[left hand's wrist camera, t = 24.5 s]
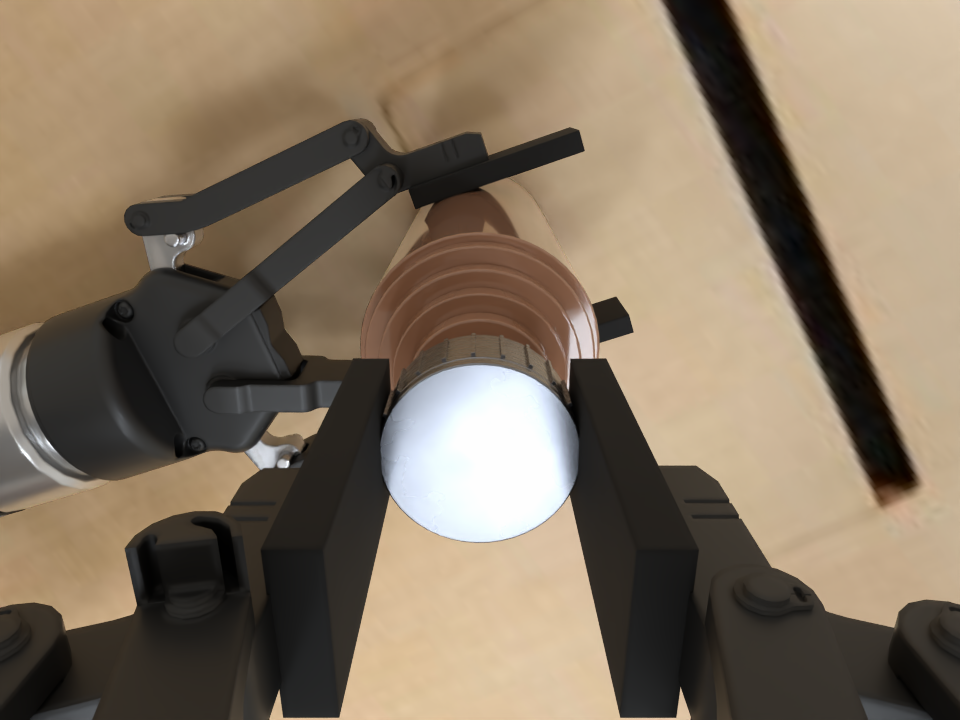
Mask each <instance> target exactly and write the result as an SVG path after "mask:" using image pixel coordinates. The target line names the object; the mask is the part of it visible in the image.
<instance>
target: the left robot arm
mask: <svg viewBox="0 0 960 720" xmlns="http://www.w3.org/2000/svg"><path fill="white" fill-rule="evenodd" d="M390 390H391V383H390V363H389V359H353V360H352V362H351V364H350V367H349V369H348V371H347V373H346V375H345V377H344V379H343V381H342V383H341V385H340V387H339V389H338V391H337V393H336V395H335V397H334V399H333V401H332V404H331V406H330V408H329V410H328V412H327V414H326V416H325V418H324V420H323V422H322V424H321V426H320V428H319V430H318V432H317V434H316V436H315V438H314V441H313V443H312V445H311V447H310V449H309V451H308V453H307V455H306V457H305V459H304V461H303V463H302V465H301V467H300V468H263V469H261V470H260V471H259V472H257V473H256V474H255V475H253V476H252V477H250V478H249V479H248V480H246V481H245V482H243V483H242V484H241V486H240V488H239V489H238V491H237V492H236V494H235V496H234V497H233V499H232V500H231V505H230V506H228V507H227V509H226V510H225V512H224V513H219V512H216V511H194V512H189V513H184V514H179V515H174V516H171V517H168V518H166V519H163V520H161V521H158V522H156V523H153V524H151V525H150V526H148V527H147V528H145V529H144V530H142V531H141V532H139V533H138V534H137V535H135V536H134V537H133V539H132V540H131V541H130V542H129V544H128V545H127V546H126V548H125V552H126V557H127V561H128V566H129V570H130V575H131V579H132V584H133V589H134V593H135V598H136V602H137V607H136V610H135V612H134V614H133V615H130V616H127V617H123V618H120V619H116V620H113V621H108V622H104V623H99V624H95V625H90V626H85V627H81V628H76V629H72V630H67V631H66V630H65V626H64V623H63V619H62V615H61V614H60V613H59V612H58V611H56V610H55V609H54V608H53V607H52V606H48V605H43V604H38V603H25V604H15V605H9V606H6V607H2V608H0V720H269V718H270V715H271V712H272V709H273V706H274V703H275V700H276V697H277V694H278V691H279V689H280V697H281V704H282V711H283V718H339V716H340V712H341V707H342V703H343V699H344V694H345V690H346V685H347V681H348V677H349V672H350V668H351V663H352V659H353V654H354V650H355V646H356V641H357V637H358V632H359V628H360V624H361V619H362V615H363V610H364V606H365V602H366V597H367V593H368V588H369V584H370V580H371V575H372V571H373V566H374V562H375V558H376V553H377V549H378V544H379V540H380V535H381V531H382V527H383V522H384V518H385V513H386V509H387V505H388V500H389V496H390V493H389V492H388V490H387V488H386V486H385V483H384V481H383V478H382V464H381V447H380V434H381V430H382V426H383V423H384V420H385V418H384V417H382V416H383V412H384V409H385V406H386V403H387V400H388V396H389V393H390ZM569 395H570V398H571V401H572V404H573V406H571V407H572V411H573V414H574V417H575V421H576V424H577V428H578V431H579V456H578V473H577V480H576V483H575V485H574V487H573V489H572V491H571V493H570V498H571V502H572V507H573V511H574V515H575V520H576V524H577V529H578V533H579V537H580V542H581V546H582V551H583V555H584V559H585V564H586V568H587V573H588V577H589V582H590V586H591V590H592V595H593V599H594V604H595V608H596V612H597V617H598V621H599V626H600V630H601V634H602V639H603V643H604V648H605V652H606V656H607V661H608V665H609V670H610V674H611V679H612V683H613V687H614V692H615V696H616V701H617V705H618V709H619V714H620V718H676V715H677V708H678V701H679V693H680V686H681V689H682V692H683V695H684V698H685V701H686V704H687V707H688V710H689V713H690V716H691V720H960V605H959V604H955V603H951V602H946V601H935V600H922V601H917V602H912V603H908V604H907V605H906V606H905V607H904V608H903V609H902V610H900V611H899V613H898V617H897V620H896V624H895V628H892V627H888V626H883V625H878V624H874V623H869V622H865V621H860V620H855V619H851V618H847V617H843V616H840V615H836V614H833V613H829V612H827V611H825V609H824V606H823V604H822V603H821V601H820V600H819V598H818V597H817V595H816V594H815V592H814V591H813V590H812V589H811V588H809V587H808V586H807V585H805V584H804V583H803V582H802V581H800V580H799V579H798V578H796V577H794V576H791V575H789V574H787V573H785V572H783V571H780V570H778V569H775V568H771V566H770V564H769V563H768V561H767V559H766V558H765V556H764V555H763V553H762V551H761V550H760V548H759V547H758V545H757V543H756V542H755V540H754V539H753V537H752V535H751V534H750V532H749V531H748V529H747V527H746V526H745V524H744V523H743V521H742V519H739V514H738V513H737V511H736V510H735V508H734V506H733V505H732V503H729V498H728V497H727V495H726V494H725V492H724V490H723V489H722V487H721V486H720V484H719V482H718V481H717V480H715V479H714V478H712V477H711V476H710V475H708V474H707V473H706V472H704V471H703V470H701V469H700V468H699V467H697V466H658V464H657V462H656V460H655V458H654V456H653V454H652V452H651V450H650V448H649V446H648V444H647V441H646V439H645V437H644V435H643V433H642V431H641V429H640V427H639V425H638V423H637V421H636V419H635V417H634V415H633V413H632V411H631V409H630V407H629V404H628V402H627V400H626V398H625V396H624V394H623V392H622V390H621V388H620V386H619V384H618V382H617V380H616V378H615V376H614V374H613V372H612V370H611V367H610V365H609V363H608V361H607V359H570V374H569Z"/></svg>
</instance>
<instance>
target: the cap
mask: <svg viewBox="0 0 960 720" xmlns="http://www.w3.org/2000/svg"><path fill="white" fill-rule="evenodd" d="M571 406H573V404H572V401H571V398H570V395H569V391H568V388H567V385H566V382H565V380H561V379H560V377H559V375H558V374H557V372H556V371H555V370H554V369H553V367H552V364H551V361H550V360H549V359H548V360H547V361H546V360H545V359H544V358H543V357H542V356H541V355H539V354H538V353H536V352H535V351H533V350H532V349H530V346H529V345H528V344H525V345H523V344H521V343H518V342H516V341H513V340H510V339H507V338H504V336H503V335H499V337H498V336H491V335H476V333H471V335H468V336H461V337H457V338H453V339H450V340H449V339H448V338H446V339H444V342H442V343H439V344H437V345H435V346H433V347H431V348H430V349H428V350H426V351H424V350H422V351H421V352H420V355H419V356H418V357H417V358H416V359H415V360H414V361H413V362H412V363H411V364H410V365H409V366H408V367H407V368H406V369H405V368H403V369H402V370H401V374H400V377H399V380H398V382H397V384H396V386H395V388H394V391H393V390H390V393H389V396H388V400H387V403H386V406H385V409H384V412H383V416H382V417H384V418H385V420H384V423H383V426H382V430H381V434H380V447H381V464H382V478H383V481H384V483H385V486H386V488H387V490H388V492H389V493H390V495H391V497H392V498H393V500H394V501H395V502H396V504H397V505H398V506H399V508H400V509H401V510H402V511H403V512H404V513H405V514H406V515H407V516H408V517H410V518H411V519H412V520H413V521H415V522H416V523H417V524H419V525H420V526H422V527H424V528H425V529H427V530H429V531H431V532H433V533H435V534H438V535H440V536H443V537H446V538H449V539H453V540H458V541H463V542H473V543H488V542H496V541H502V540H506V539H511V538H514V537H517V536H519V535H522V534H525V533H527V532H529V531H531V530H533V529H535V528H536V527H538V526H539V525H541V524H542V523H544V522H545V521H547V520H548V519H549V518H550V517H551V516H552V515H554V514H555V513H556V512H557V511H558V509H559V508H560V507H561V506H562V505H563V504H564V502H565V501H566V499H567V498H568V496H569V495H570V493H571V491H572V489H573V487H574V485H575V483H576V480H577V473H578V456H579V431H578V428H577V424H576V421H575V417H574V414H573V411H572V407H571Z"/></svg>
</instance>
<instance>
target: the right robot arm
mask: <svg viewBox="0 0 960 720" xmlns="http://www.w3.org/2000/svg"><path fill="white" fill-rule="evenodd" d="M583 151H585V150H584V147H583V143H582V139H581V135H580V132H579V130H577V129H573V128H570V127H569V128H567V129H564V130H561V131H558V132H555V133H552V134H549V135H547V136H544V137H541V138H538V139H535V140H532V141H529V142H527V143H524V144H521V145H518V146H515V147H512V148H509V149H506V150H504V151H501V152H498V153H495V154H492V155H489V156H488V154H487V150H486V147H485V144H484V141H483V138H482V135H481V133H480V132H465V133H462V134H459V135H456V136H454V137H451V138H448V139H445V140H442V141H439V142H437V143H434V144H431V145H428V146H425V147H422V148H420V149H417V150H414V151H411V152H407V153H400V152H397V151H395V150H393V149H391V148H390V147H389V146H388V145H387V143H386V142H385V141H384V140H383V138H382V137H381V136H380V135H379V134H378V132H377V131H376V128H375V126H374V125H373V124H372V123H371V122H370V121H368V120H366V119H354V120H348V121H345V122H342V123H340V124H338V125H336V126H334V127H332V128H330V129H328V130H326V131H324V132H321V133H319V134H317V135H315V136H313V137H311V138H309V139H307V140H305V141H303V142H301V143H299V144H297V145H295V146H293V147H291V148H289V149H287V150H284V151H282V152H280V153H278V154H276V155H274V156H272V157H270V158H268V159H266V160H264V161H262V162H260V163H258V164H256V165H254V166H252V167H250V168H247V169H245V170H243V171H241V172H239V173H237V174H235V175H233V176H231V177H229V178H227V179H225V180H223V181H221V182H219V183H217V184H215V185H213V186H210V187H208V188H206V189H204V190H202V191H200V192H198V193H196V194H182V195H168V196H162V197H158V198H155V199H151V200H148V201H144V202H141V203H139V204H135V205H132V206H130V207H129V208H128V209H127V210H126V212H125V215H124V221H125V224H126V226H127V228H128V229H129V230H130V231H131V232H132V233H134V234H136V235H138V236H142V237H143V241H144V245H145V249H146V253H147V257H148V262H149V266H150V270H151V271H150V272H148V273H147V274H146V275H144V276H143V278H142V279H141V280H140V282H139V283H138V284H137V286H136V287H134V288H133V289H131V290H128V291H125V292H123V293H120V294H117V295H114V296H111V297H108V298H105V299H102V300H100V301H97V302H94V303H91V304H88V305H85V306H82V307H79V308H77V309H74V310H71V311H68V312H65V313H62V314H59V315H57V316H54V317H52V318H50V319H49V320H47V321H46V322H45V323H33V324H30V325H28V326H25V327H22V328H19V329H16V330H13V331H10V332H8V333H5V334H2V335H0V517H2V516H5V515H8V514H11V513H15V512H19V511H22V510H25V509H27V508H30V507H34V506H37V505H41V504H44V503H47V502H51V501H54V500H57V499H61V498H64V497H68V496H71V495H74V494H78V493H81V492H84V491H88V490H91V489H94V488H97V487H100V486H103V485H105V484H107V483H108V482H110V481H114V480H121V479H125V478H128V477H132V476H135V475H138V474H141V473H144V472H148V471H151V470H154V469H157V468H160V467H164V466H167V465H170V464H173V463H176V462H180V461H183V460H186V459H189V458H191V457H194V456H197V455H199V454H202V453H205V452H208V451H227V452H232V453H240V452H245V453H246V455H247V456H248V457H249V458H250V459H251V460H252V461H253V463H254V464H255V465H256V466H257V467H258V468H259V469H260V470H261V469H263V468H300V467H301V465H302V463H303V461H304V459H305V457H306V455H307V453H308V451H309V449H310V447H311V445H312V443H313V441H314V438H315V436H316V434H315V435H312V436H310V437H308V438H306V439H304V440H303V438H302V436H301V435H299V434H293V435H288V436H284V437H275V436H273V435H271V434H270V433H268V432H267V431H266V430H267V429H268V427H269V426H270V425H271V423H272V422H273V420H274V419H275V417H276V416H277V414H278V413H279V412H309V411H312V410H314V409H316V408H322V407H327V408H330V406H331V404H332V401H333V399H334V397H335V395H336V393H337V391H338V389H339V387H340V385H341V383H342V381H343V379H344V377H345V375H346V373H347V371H348V369H349V367H350V364H351V362H352V360H329V359H327V358H326V357H323V356H302V355H301V353H300V351H299V349H298V347H297V344H296V343H295V342H294V341H293V339H292V338H291V337H290V336H289V334H288V333H287V332H286V331H285V329H284V324H283V318H282V312H281V309H280V307H279V305H278V303H277V301H276V298H275V296H274V294H275V293H276V292H277V291H278V290H280V289H281V288H282V287H283V286H284V285H286V284H287V283H288V282H289V281H291V280H292V279H293V278H294V277H295V276H297V275H298V274H299V273H300V272H302V271H303V270H304V269H305V268H306V267H308V266H309V265H310V264H311V263H313V262H314V261H315V260H316V259H317V258H319V257H320V256H321V255H322V254H324V253H325V252H326V251H327V250H329V249H330V248H331V247H332V246H333V245H335V244H336V243H337V242H338V241H340V240H341V239H342V238H343V237H344V236H346V235H347V234H348V233H349V232H351V231H352V230H353V229H354V228H355V227H357V226H358V225H359V224H360V223H362V222H363V221H364V220H365V219H366V218H368V217H369V216H370V215H371V214H373V213H374V212H375V211H376V210H377V209H379V208H380V207H381V206H382V205H384V204H385V203H386V202H387V201H388V200H390V199H391V198H392V197H393V196H395V195H396V194H397V193H399V192H402V191H405V190H408V189H409V193H410V195H411V198H412V201H413V204H414V206H415V209H418V208H421V207H424V206H426V205H429V204H432V203H435V202H438V201H441V200H444V199H447V198H450V197H453V196H455V195H458V194H461V193H464V192H467V191H470V190H473V189H476V188H479V187H482V186H485V185H488V184H490V183H493V182H496V181H499V180H502V179H505V178H508V177H511V176H514V175H517V174H519V173H522V172H525V171H528V170H531V169H534V168H537V167H540V166H543V165H546V164H549V163H551V162H554V161H557V160H560V159H563V158H566V157H569V156H572V155H575V154H578V153H580V152H583ZM350 158H351V160H352V161H353V162H354V163H355V164H356V166H357V167H358V168H359V169H360V170H361V172H362V173H363V174H364V175H365V176H364V177H363V178H362V179H361V180H360V181H358V182H357V183H356V184H355V185H354V186H352V187H351V188H350V189H349V190H348V191H346V192H345V193H344V194H343V195H342V196H340V197H339V198H338V199H337V200H336V201H334V202H333V203H332V204H331V205H330V206H328V207H327V208H326V209H325V210H324V211H323V212H321V213H320V214H319V215H318V216H317V217H315V218H314V219H313V220H312V221H311V222H309V223H308V224H307V225H306V226H305V227H303V228H302V229H301V230H300V231H299V232H297V233H296V234H295V235H294V236H293V237H291V238H290V239H289V240H288V241H287V242H285V243H284V244H283V245H282V246H281V247H279V248H278V249H277V250H276V251H275V252H273V253H272V254H271V255H270V256H269V257H267V258H266V259H265V260H264V261H263V262H262V263H260V264H259V265H258V266H257V267H256V268H254V269H253V270H252V271H251V272H249V273H248V274H247V275H246V276H244V277H243V278H242V279H241V280H239V279H235V278H232V277H229V276H225V275H222V274H218V273H215V272H212V271H208V270H205V269H201V268H198V267H195V266H191V265H188V264H184V254H185V252H186V251H187V250H189V249H191V248H193V247H195V246H197V245H198V244H200V243H201V241H202V240H203V236H204V231H203V228H204V227H206V226H209V225H211V224H213V223H215V222H217V221H219V220H222V219H224V218H226V217H228V216H230V215H232V214H234V213H237V212H239V211H241V210H243V209H245V208H247V207H249V206H251V205H253V204H255V203H258V202H260V201H262V200H264V199H266V198H268V197H270V196H272V195H274V194H276V193H278V192H281V191H283V190H285V189H287V188H289V187H291V186H293V185H295V184H297V183H299V182H302V181H304V180H306V179H308V178H310V177H312V176H314V175H316V174H318V173H320V172H323V171H325V170H327V169H329V168H331V167H333V166H335V165H337V164H339V163H341V162H343V161H346V160H348V159H350ZM592 307H593V310H594V313H595V316H596V319H597V325H598V331H599V343H601V342H604V341H607V340H610V339H614V338H617V337H620V336H623V335H627V334H630V333H633V328H632V325H631V321H630V317H629V314H628V313H627V312H626V310H625V309H624V307H623V306H622V304H621V303H620V301H619V300H618V299H617V297H613V298H610V299H607V300H604V301H601V302H598V303H594V304H592Z"/></svg>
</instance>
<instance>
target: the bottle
mask: <svg viewBox="0 0 960 720" xmlns="http://www.w3.org/2000/svg"><path fill="white" fill-rule="evenodd" d="M471 333H476V335H491V336H498V337H499V335H503V336H504V338H507V339H510V340H513V341H516V342H518V343H521V344H523V345H525V344H528V345H529V346H530V349H532V350H533V351H535V352H536V353H538V354H539V355H541V356H542V357H543V358H544V359H545V360H546V361H547V360H548V359H549V360H550V361H551V364H552V367H553V369H554V370H555V371H556V372H557V374H558V375H559V377H560V379H561V380H565V382H566V385H567V388H568V391H569V374H570V359H598V358H599V331H598V325H597V319H596V316H595V313H594V310H593V307H592V304H591V302H590V300H589V298H588V296H587V294H586V292H585V290H584V288H583V286H582V284H581V282H580V281H579V279H578V277H577V275H576V273H575V272H574V270H573V268H572V266H571V264H570V262H569V261H568V259H567V257H566V255H565V253H564V252H563V250H562V248H561V246H560V244H559V242H558V241H557V239H556V237H555V235H554V233H553V231H552V230H551V228H550V226H549V224H548V222H547V221H546V219H545V217H544V215H543V213H542V211H541V210H540V208H539V206H538V204H537V203H536V201H535V200H534V198H533V197H532V196H531V195H530V194H529V193H528V191H526V190H525V189H524V188H523V187H522V186H521V185H519V184H518V183H516V182H515V181H513V180H511V179H509V178H505V179H502V180H499V181H496V182H493V183H490V184H488V185H485V186H482V187H479V188H476V189H473V190H470V191H467V192H464V193H461V194H458V195H455V196H453V197H450V198H447V199H444V200H441V201H438V202H435V203H432V204H429V205H426V206H424V207H421V208H420V210H419V212H418V213H417V215H416V217H415V219H414V221H413V223H412V224H411V226H410V228H409V230H408V232H407V233H406V235H405V237H404V239H403V241H402V243H401V244H400V246H399V248H398V250H397V252H396V253H395V255H394V257H393V259H392V261H391V262H390V264H389V266H388V268H387V270H386V272H385V273H384V275H383V277H382V279H381V281H380V282H379V284H378V286H377V288H376V290H375V292H374V293H373V295H372V297H371V300H370V302H369V304H368V307H367V309H366V312H365V316H364V320H363V324H362V331H361V339H360V340H361V359H389V363H390V383H391V390H393V391H394V388H395V386H396V384H397V382H398V380H399V377H400V374H401V370H402V369H403V368H405V369H406V368H407V367H408V366H409V365H410V364H411V363H412V362H413V361H414V360H415V359H416V358H417V357H418V356H419V355H420V352H421V351H422V350H424V351H426V350H428V349H430V348H431V347H433V346H435V345H437V344H439V343H442V342H444V339H446V338H448V339H449V340H450V339H453V338H457V337H461V336H468V335H471Z"/></svg>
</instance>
